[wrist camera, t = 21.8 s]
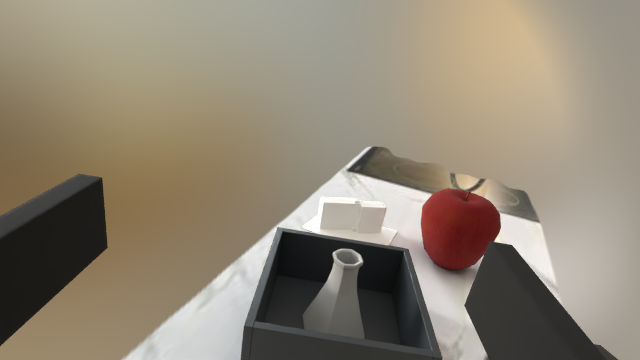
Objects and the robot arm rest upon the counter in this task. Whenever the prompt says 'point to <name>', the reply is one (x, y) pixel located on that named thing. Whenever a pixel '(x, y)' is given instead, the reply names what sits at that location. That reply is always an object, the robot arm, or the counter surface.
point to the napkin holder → (351, 220)
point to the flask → (338, 299)
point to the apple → (458, 227)
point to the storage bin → (373, 296)
